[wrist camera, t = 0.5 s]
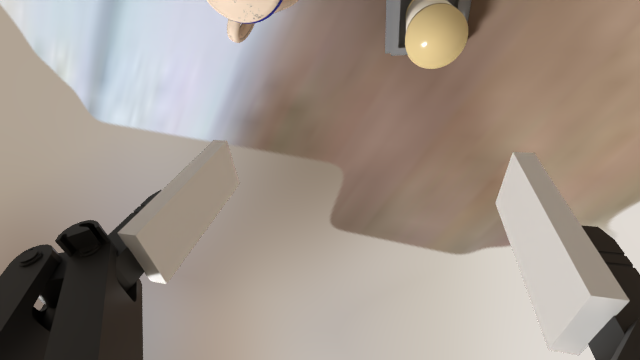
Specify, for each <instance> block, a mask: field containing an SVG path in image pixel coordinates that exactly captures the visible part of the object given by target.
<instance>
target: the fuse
mask: <svg viewBox="0 0 640 360" xmlns="http://www.w3.org/2000/svg"><path fill="white" fill-rule="evenodd" d="M405 21H406V34H405V47H406V51H407V54H408V56H409V58H410V59H411V60H412V61H413V62H414V63H415V64H416V65H418V66H420V67H423V68H427V69H436V68H440V67H443V66H445V65H448V64H449V63H451V62H452V61H453V60H455V59H456V58H457V57H458V56H459V54H460V53H461V52H462V50H463V49H464V47H465V45H466V42H467V38H468V24H467V21H466V19H465V17H464V15H463V14H462V13H461V12H460V11H459V10H458V9H457V8H456V7H454V6H453V5H451V4H450V3H449V2H448V1H447V0H412V1H411V2H410V4H409V6H408V8H407V11H406V16H405Z"/></svg>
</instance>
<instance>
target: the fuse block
mask: <svg viewBox="0 0 640 360" xmlns="http://www.w3.org/2000/svg"><path fill="white" fill-rule="evenodd" d="M411 1H412V0H387V1H386V41H385V53H391V56H393V55H408V54H407V51H406V47H405V34H406V21H405V16H406V11H407V8H408V6H409V4H410V2H411ZM447 1H448V2H449V3H450V4H451V5H453V6H454V7H456V8H457V9H458V10H459V11H460V12H461V13H462V14H463V15H464V17H465V19H466V21H467V24H468V18H469V12H470V6H471V0H447Z"/></svg>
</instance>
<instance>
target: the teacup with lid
mask: <svg viewBox="0 0 640 360" xmlns="http://www.w3.org/2000/svg"><path fill="white" fill-rule="evenodd" d="M297 1H298V0H207V2H208V3H209V4H210V5H211V6H212V7H213V8H214V9H215V10H216V11H217V12H218V13H220V14H221V15H223V16H224V17H226V18H228V25H227V33H228V37H229V38H230V39H231V40H232V41H234V42H236V43H240V42H242V41H244V40H245V39H246V38H247V37H248V35H249V34H250V32H251V31H252V29H253V27H254V24H255V23H257V22H260V21H263V20H265V19H267V18H268V17H270V16H271V15H272V14H273V13H276V12H278V11H281V10H284V9H286V8H289V7H291V6H292V5H294V4H295V3H296V2H297ZM241 23H242V24H241ZM240 24H241V26H240Z"/></svg>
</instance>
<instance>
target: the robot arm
mask: <svg viewBox="0 0 640 360" xmlns="http://www.w3.org/2000/svg"><path fill="white" fill-rule="evenodd" d="M239 184H240V182H239V179H238V176H237V172H236V169H235V166H234V163H233V159H232V156H231V153H230V149H229V146H228V143H227V141H219V140H213V141H212V142H211V143H210V144H209V145H208V146H207V147H206V148H205V149H204V150H203V151H202V152H201V153H200V154H199V155H198V156H197V157H196V158H195V159H194V160H193V161H192V162H191V163H190V164H189V165H188V166H186V167H185V168H184V169H183V170H182V171H181V172H180V173H179V174H178V175H177V176H176V177H175V178H174V179H173V180H172V181H171V182H170V183H169V184H168V185H167V186H166V187H165V188H164V189H163V190H160V191H158V192H156V193H155V194H153V195H151V196H150V197H148V198H147V199H146V200H145V201H144V202H143V203H142V204H141V206H140V207H138V208H137V209H136V210H135V211H134V213H131V214H130V215H129V216H128V217H127V218H126V219H125V220H124V221H123V222H122V223H121V224H120V225H119V226H118V227H116V228H115V229H114V230H113V231H112V232H111V233H110V234H109V235H107V234H106V233H105V231H104V230H103V229H102V227H101V226H100V224H99V223H98V222H96V221H94V220H88V221H83V222H80V223H77V224H75V225H72V226H71V227H69V228H67V229H66V230H64V231H63V232H62V233H61V234H60V235H59V236H58V237H57V239H56V240H55V241H56V243H57V244H58V245H59V246H60V247H61V248H62V249H63V250H64V253H57V252H56V250H55V249H54V248H53V247H52V246H50V245H39V246H36V247H33V248H30V249H28V250H26V251H24V252H23V253H21V254H20V255H19V256H17V257H16V258H15V259H14V260H13V261H12V262H11V263H10V264H9V265H8V267H7V268H6V270H5V271H4V272H3V273H2V275H1V276H0V360H143V333H142V332H143V329H142V328H143V327H142V284H141V281H140V279H139V278H140V276H141V275H142V274H143V273H144V272H145V274H146V275H147V277H148V278H149V279H150V281H153V282H158V283H164V284H167V283H168V282H169V280H170V279H171V278H172V276H173V275H174V274H175V272H176V271H177V269H178V268H179V267H180V265H181V264H182V263H183V261H184V260H185V258H186V257H187V256H188V254H189V253H190V251H191V250H192V249H193V247H194V246H195V245H196V243H197V242H198V241H199V239H200V238H201V236H202V235H203V234H204V232H205V231H206V230H207V228H208V227H209V225H210V224H211V223H212V221H213V220H214V219H215V217H216V216H217V214H218V213H219V212H220V210H221V209H222V208H223V206H224V205H225V203H226V202H227V201H228V199H229V198H230V196H231V195H232V194H233V193H234V191H235V190H236V188H237V187H238V185H239ZM496 206H497V208H498V211H499V214H500V217H501V219H502V222H503V225H504V228H505V231H506V233H507V236H508V239H509V242H510V244H511V247H512V250H513V253H514V256H515V258H516V261H517V264H518V267H519V270H520V272H521V275H522V278H523V281H524V283H525V286H526V289H527V292H528V294H529V297H530V300H531V303H532V306H533V308H534V310H535V314H536V316H537V320H538V322H539V325H540V328H541V331H542V333H543V336H544V339H545V342H546V345H547V347H548V350H551V351H557V352H563V353H569V354H574V355H580V354H581V353H582V352H583V351H584V350H585V349H586V348H587V346H588V345H589V347H590V349H591V351H592V353H593V355H594V357H595V359H596V360H640V274H639V273H638V271H637V270H636V269H635V268H633V264H632V263H631V262H630V260H629V259H628V258H627V256H624V252H623V251H622V249H621V248H620V247H619V245H618V244H617V243H616V241H615V240H614V239H613V238H612V237H610V236H609V235H608V234H606V233H605V232H604V231H603V230H601V229H600V228H599V227H592V226H581V224H580V223H579V221H578V220H577V218H576V217H575V215H574V214H573V212H572V211H571V209H570V207H569V206H568V204H567V203H566V201H565V200H564V198H563V197H562V195H561V194H560V192H559V190H558V189H557V187H556V186H555V184H554V183H553V181H552V180H551V178H550V177H549V175H548V173H547V172H546V170H545V169H544V167H543V166H542V164H541V163H540V161H539V159H538V158H537V156H536V155H535V153H526V152H513V153H512V156H511V159H510V162H509V165H508V168H507V171H506V174H505V177H504V180H503V183H502V186H501V188H500V191H499V194H498V197H497V200H496ZM37 299H39V300H40V301H42V302H43V303H44V305H43V307H42V309H41V310H40V311H39V310H37V309H36V308H35V307H33V306H34V304H35V302H36V300H37Z"/></svg>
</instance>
